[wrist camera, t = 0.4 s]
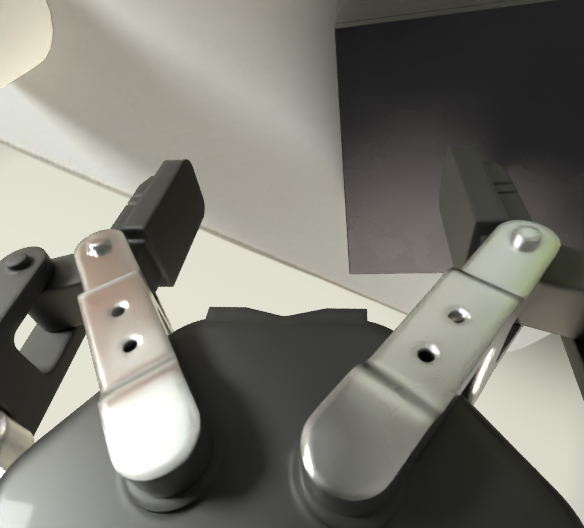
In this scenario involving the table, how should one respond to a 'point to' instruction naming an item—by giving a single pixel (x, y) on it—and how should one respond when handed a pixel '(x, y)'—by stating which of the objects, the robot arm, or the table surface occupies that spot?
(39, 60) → the cylinder with rectangular tab
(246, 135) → the table surface
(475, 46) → the box
